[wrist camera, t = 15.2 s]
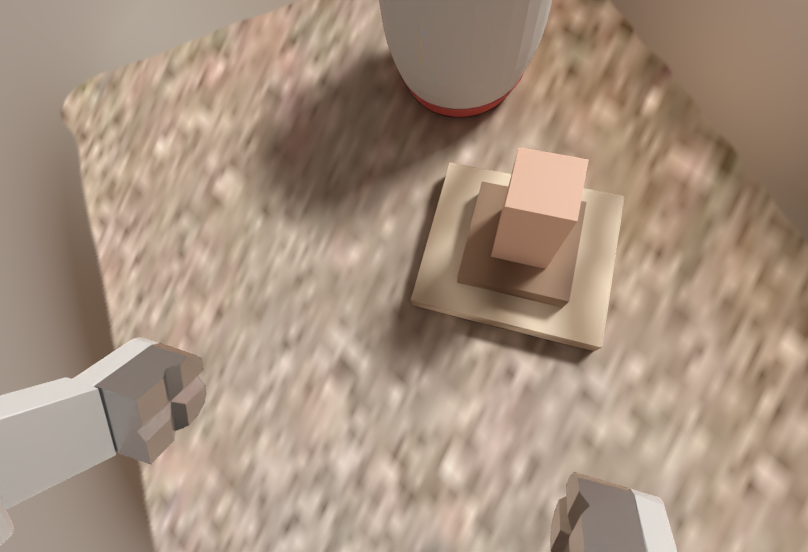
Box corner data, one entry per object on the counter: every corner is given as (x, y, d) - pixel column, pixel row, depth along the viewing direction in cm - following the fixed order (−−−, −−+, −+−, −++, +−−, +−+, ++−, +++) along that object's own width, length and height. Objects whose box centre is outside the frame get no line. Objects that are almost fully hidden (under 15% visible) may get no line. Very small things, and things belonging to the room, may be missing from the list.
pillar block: (555, 220, 37) (588, 159, 28) (545, 269, 36) (577, 221, 27) (502, 209, 38) (519, 146, 29) (490, 256, 36) (505, 206, 28)
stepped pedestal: (616, 206, 41) (633, 184, 37) (593, 351, 37) (610, 343, 33) (449, 173, 44) (449, 150, 40) (412, 305, 40) (408, 293, 36)
